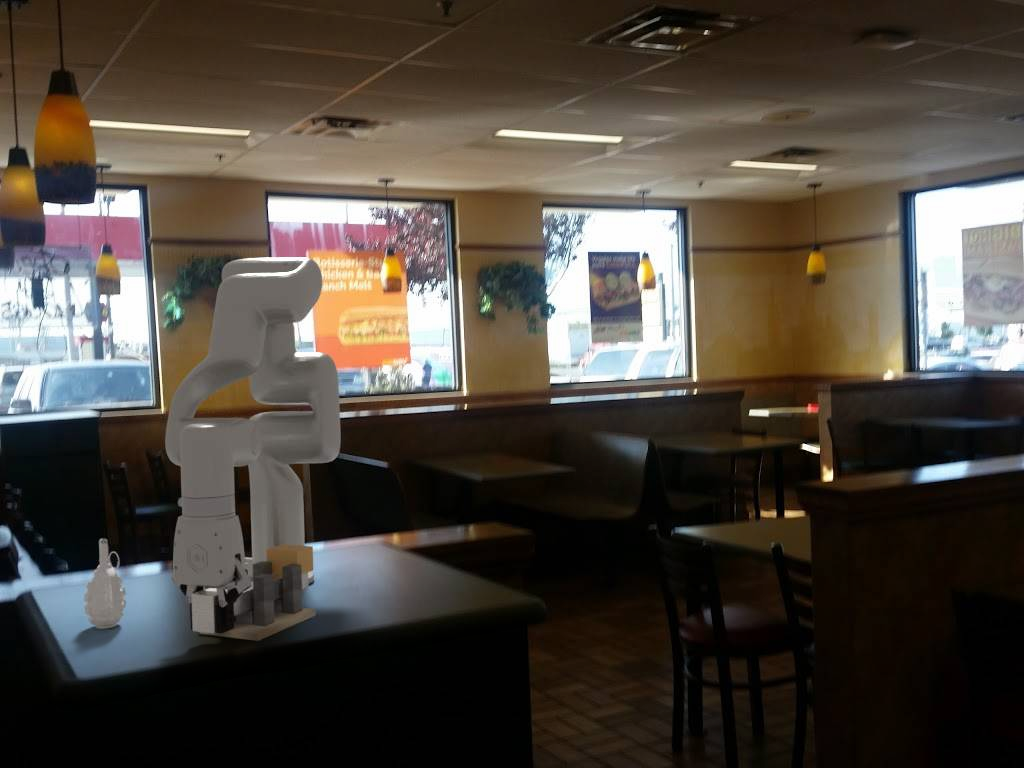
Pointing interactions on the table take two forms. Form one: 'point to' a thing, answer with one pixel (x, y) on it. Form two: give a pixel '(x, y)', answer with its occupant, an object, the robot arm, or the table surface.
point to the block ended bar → (208, 601)
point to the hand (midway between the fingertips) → (212, 628)
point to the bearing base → (268, 629)
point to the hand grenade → (105, 592)
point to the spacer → (290, 557)
